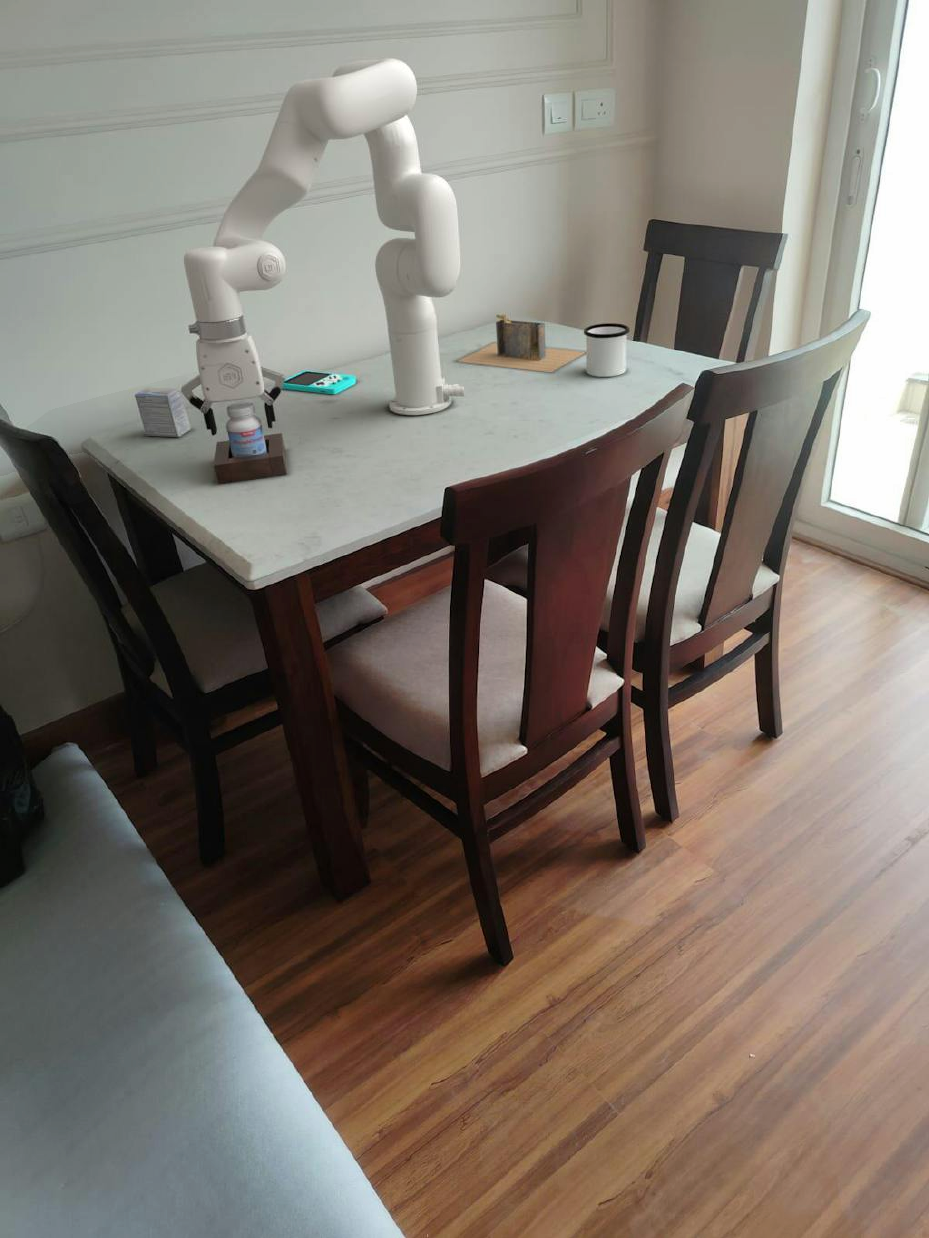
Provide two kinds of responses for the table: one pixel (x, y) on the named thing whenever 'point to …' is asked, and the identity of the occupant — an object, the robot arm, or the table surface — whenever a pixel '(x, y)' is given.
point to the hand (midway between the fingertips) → (242, 429)
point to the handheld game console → (319, 382)
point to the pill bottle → (245, 430)
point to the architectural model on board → (521, 348)
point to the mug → (606, 349)
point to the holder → (250, 461)
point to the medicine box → (162, 412)
